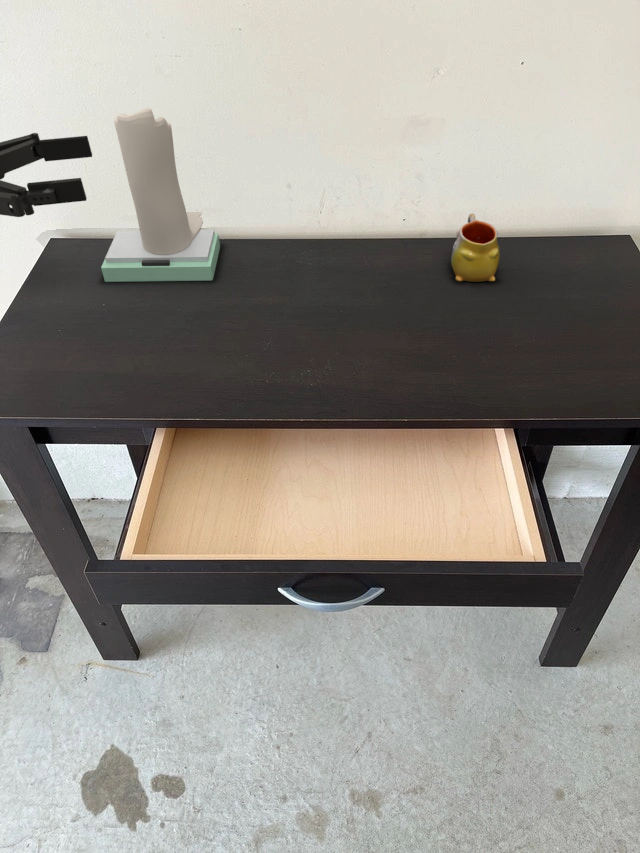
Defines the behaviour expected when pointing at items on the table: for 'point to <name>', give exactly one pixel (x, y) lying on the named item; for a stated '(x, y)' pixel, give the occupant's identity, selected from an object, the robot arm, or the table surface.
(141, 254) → the scale
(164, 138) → the candle
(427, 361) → the table surface
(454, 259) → the mug
